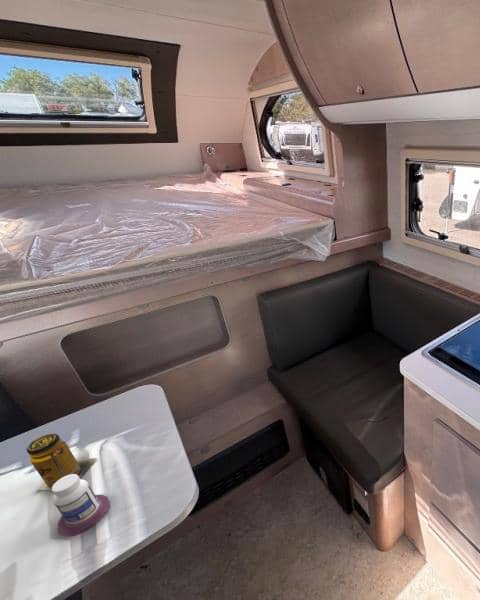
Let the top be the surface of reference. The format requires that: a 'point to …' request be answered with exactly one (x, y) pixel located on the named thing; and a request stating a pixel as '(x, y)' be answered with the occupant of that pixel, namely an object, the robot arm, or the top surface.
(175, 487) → the top surface
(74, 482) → the pill bottle
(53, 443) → the condiment
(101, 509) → the saucer
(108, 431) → the top surface
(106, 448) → the top surface
